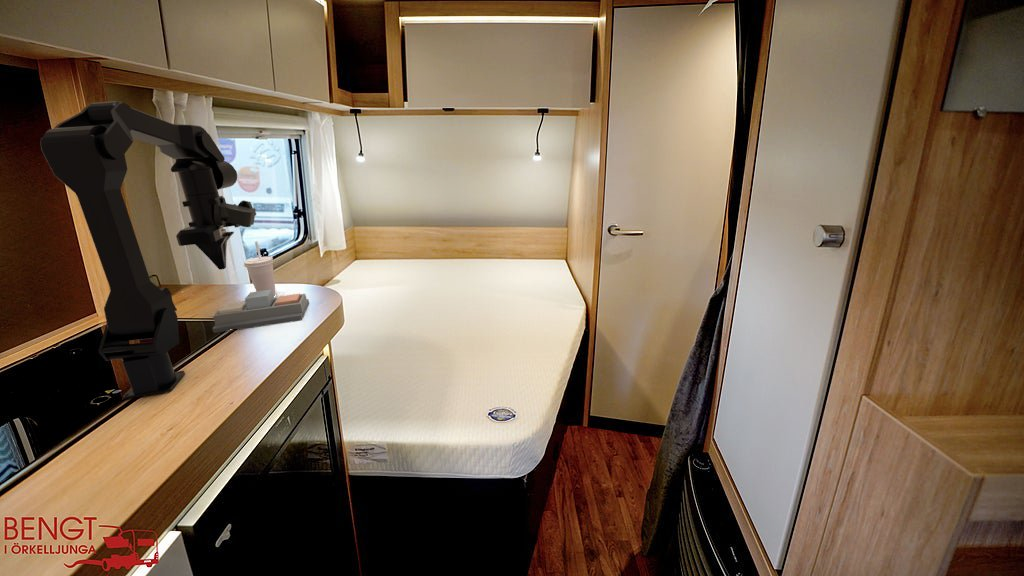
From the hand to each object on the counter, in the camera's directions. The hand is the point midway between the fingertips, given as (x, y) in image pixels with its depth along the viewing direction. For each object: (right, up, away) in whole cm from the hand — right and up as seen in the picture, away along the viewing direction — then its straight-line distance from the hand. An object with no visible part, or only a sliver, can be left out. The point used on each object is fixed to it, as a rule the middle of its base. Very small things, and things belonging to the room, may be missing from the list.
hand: (222, 268), depth 98 cm
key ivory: (+1, -10, +4) cm, 11 cm away
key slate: (+6, -8, +4) cm, 10 cm away
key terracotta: (+11, -9, +6) cm, 15 cm away
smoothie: (0, -7, +18) cm, 20 cm away
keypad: (+6, -10, +5) cm, 13 cm away
